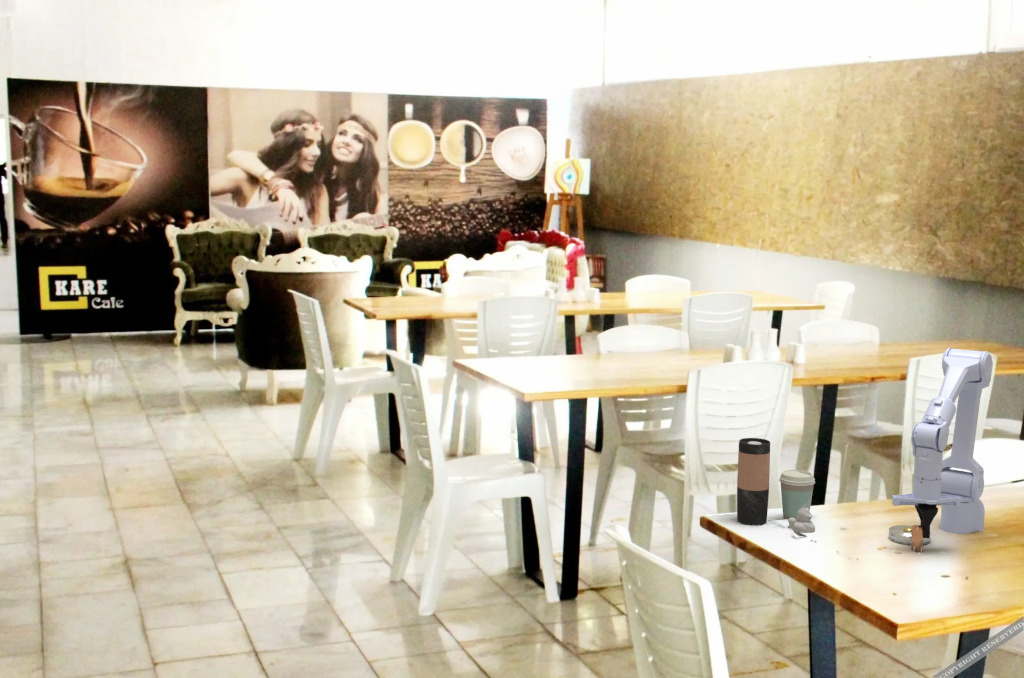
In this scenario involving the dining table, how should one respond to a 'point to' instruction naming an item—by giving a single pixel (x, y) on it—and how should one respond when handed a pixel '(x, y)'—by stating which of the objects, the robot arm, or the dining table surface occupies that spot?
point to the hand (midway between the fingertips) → (924, 536)
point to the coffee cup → (796, 491)
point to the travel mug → (753, 481)
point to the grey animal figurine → (802, 522)
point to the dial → (909, 536)
